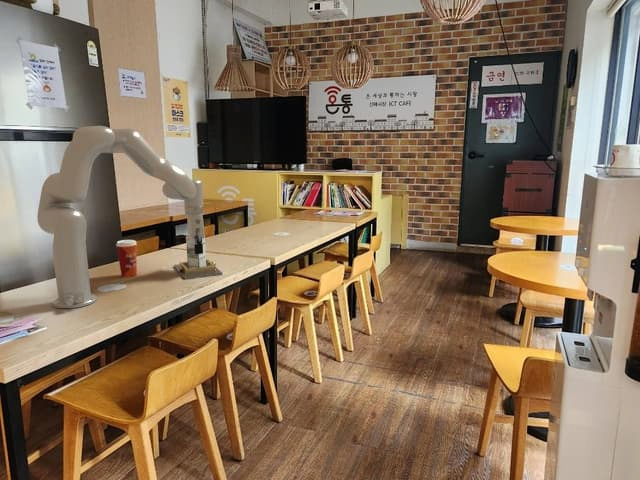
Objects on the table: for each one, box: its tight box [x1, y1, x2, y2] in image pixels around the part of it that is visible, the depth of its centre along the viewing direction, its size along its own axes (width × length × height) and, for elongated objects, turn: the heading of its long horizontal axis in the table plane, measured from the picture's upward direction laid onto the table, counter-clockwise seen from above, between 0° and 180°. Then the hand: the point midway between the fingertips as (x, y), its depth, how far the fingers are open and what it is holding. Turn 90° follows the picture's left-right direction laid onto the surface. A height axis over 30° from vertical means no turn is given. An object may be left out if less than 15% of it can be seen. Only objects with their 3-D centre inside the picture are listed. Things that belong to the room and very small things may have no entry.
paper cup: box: [115, 239, 138, 278], centre depth 181 cm, size 8×8×14 cm
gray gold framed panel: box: [173, 259, 223, 280], centre depth 190 cm, size 22×15×3 cm
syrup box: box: [185, 235, 207, 268], centre depth 188 cm, size 6×6×14 cm
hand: (196, 251), depth 188 cm, fingers open, 9 cm apart
